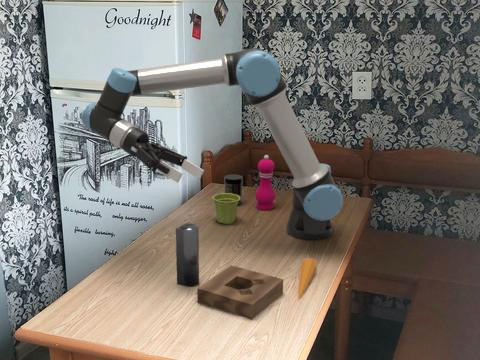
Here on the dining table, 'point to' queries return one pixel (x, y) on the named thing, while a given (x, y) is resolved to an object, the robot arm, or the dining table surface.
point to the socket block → (240, 291)
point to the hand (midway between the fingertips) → (191, 176)
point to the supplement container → (234, 185)
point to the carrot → (306, 275)
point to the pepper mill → (265, 185)
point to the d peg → (187, 254)
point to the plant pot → (226, 207)
